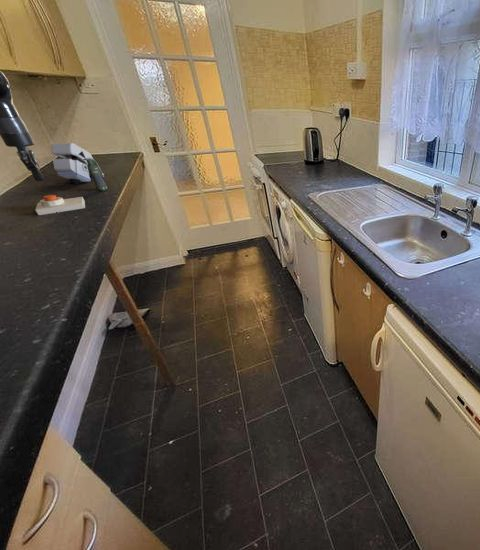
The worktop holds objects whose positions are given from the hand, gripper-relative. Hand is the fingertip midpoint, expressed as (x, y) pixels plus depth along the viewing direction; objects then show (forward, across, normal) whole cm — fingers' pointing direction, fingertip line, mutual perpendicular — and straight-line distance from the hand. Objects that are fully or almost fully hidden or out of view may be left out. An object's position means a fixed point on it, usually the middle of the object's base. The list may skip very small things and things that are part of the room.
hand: (40, 180), depth 114 cm
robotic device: (+12, -50, +9) cm, 52 cm away
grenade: (+12, -22, +16) cm, 30 cm away
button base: (+12, 0, +2) cm, 12 cm away
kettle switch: (+8, 0, 0) cm, 8 cm away
